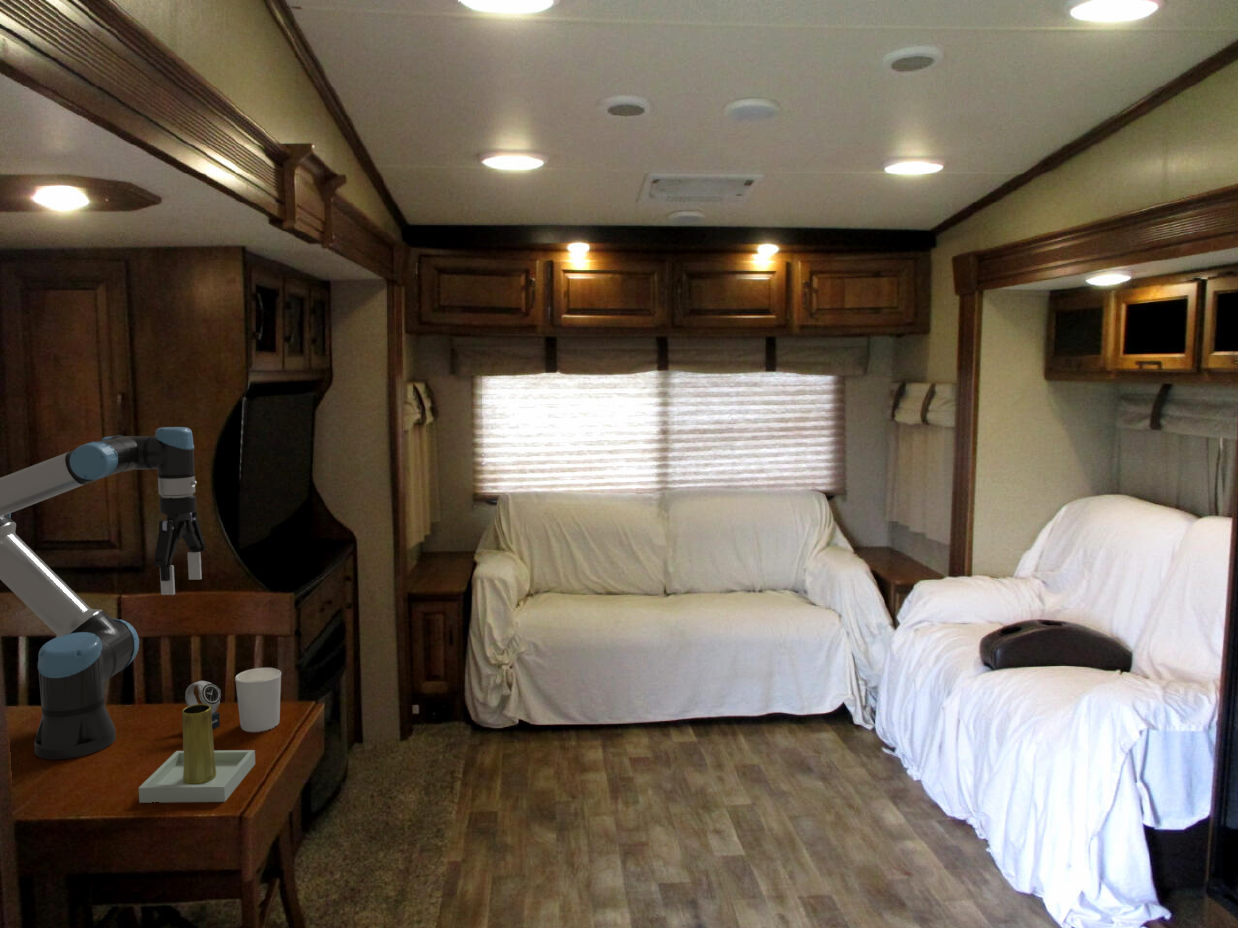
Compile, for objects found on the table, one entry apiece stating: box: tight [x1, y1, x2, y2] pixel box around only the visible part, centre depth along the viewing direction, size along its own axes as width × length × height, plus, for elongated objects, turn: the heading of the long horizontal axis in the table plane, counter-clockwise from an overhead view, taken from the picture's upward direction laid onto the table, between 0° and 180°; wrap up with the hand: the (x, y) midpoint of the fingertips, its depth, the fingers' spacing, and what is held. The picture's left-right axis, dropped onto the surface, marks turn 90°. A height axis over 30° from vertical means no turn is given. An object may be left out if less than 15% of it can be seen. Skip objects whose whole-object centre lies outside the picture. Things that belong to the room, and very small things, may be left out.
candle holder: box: [234, 667, 282, 733], centre depth 205 cm, size 10×10×12 cm
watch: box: [184, 680, 222, 730], centre depth 202 cm, size 6×8×11 cm
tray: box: [138, 749, 256, 804], centre depth 177 cm, size 16×16×3 cm
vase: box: [181, 703, 216, 784], centre depth 177 cm, size 6×6×14 cm
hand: (182, 586), depth 205 cm, fingers open, 13 cm apart
